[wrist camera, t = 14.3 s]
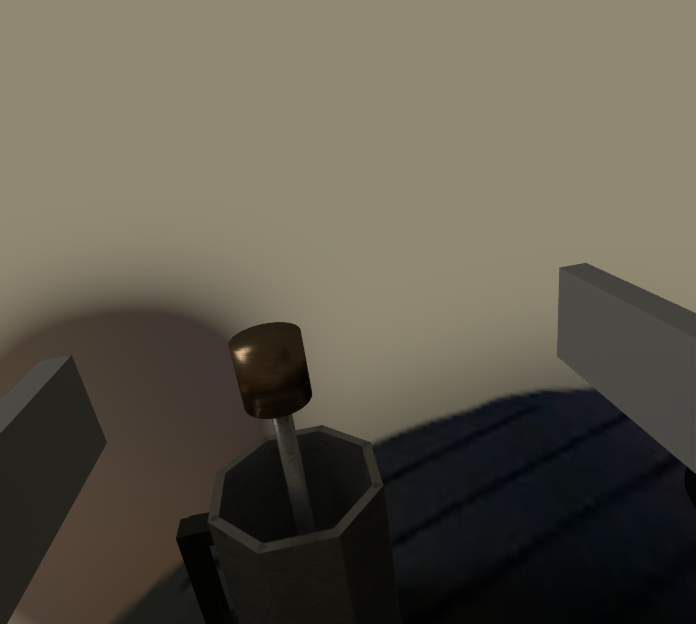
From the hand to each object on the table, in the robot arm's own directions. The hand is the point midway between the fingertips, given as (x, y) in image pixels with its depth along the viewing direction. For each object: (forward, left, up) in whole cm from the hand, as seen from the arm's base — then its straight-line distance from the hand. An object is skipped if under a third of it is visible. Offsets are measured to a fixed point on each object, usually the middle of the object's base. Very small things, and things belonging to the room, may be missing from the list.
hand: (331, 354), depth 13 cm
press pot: (+4, -13, -32) cm, 34 cm away
